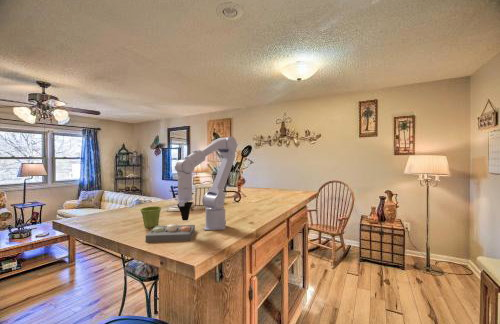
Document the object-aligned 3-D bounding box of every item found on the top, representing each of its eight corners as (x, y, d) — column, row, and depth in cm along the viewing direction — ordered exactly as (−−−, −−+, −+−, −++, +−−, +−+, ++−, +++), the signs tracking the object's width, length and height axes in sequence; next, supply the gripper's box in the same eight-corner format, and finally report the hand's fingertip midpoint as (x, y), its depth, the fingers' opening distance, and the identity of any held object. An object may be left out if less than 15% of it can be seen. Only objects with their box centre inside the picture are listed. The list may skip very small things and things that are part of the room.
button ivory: (177, 230, 97) (177, 223, 97) (175, 233, 93) (175, 226, 93) (168, 231, 97) (168, 224, 96) (165, 234, 93) (165, 226, 92)
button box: (194, 230, 101) (194, 224, 101) (190, 240, 89) (189, 233, 89) (155, 232, 100) (155, 225, 100) (145, 242, 88) (145, 234, 88)
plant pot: (154, 230, 103) (153, 211, 103) (135, 228, 105) (135, 210, 105) (165, 224, 112) (165, 206, 112) (148, 223, 114) (148, 206, 114)
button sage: (164, 233, 96) (164, 226, 96) (161, 236, 92) (161, 229, 92) (155, 233, 96) (155, 226, 96) (151, 237, 92) (151, 229, 92)
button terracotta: (191, 232, 97) (190, 225, 97) (189, 235, 93) (189, 228, 93) (181, 233, 97) (181, 226, 97) (179, 236, 93) (179, 228, 93)
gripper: (179, 185, 102) (179, 215, 102) (170, 190, 87) (171, 225, 88) (195, 185, 102) (195, 215, 103) (189, 190, 88) (189, 224, 88)
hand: (185, 220), depth 95 cm, fingers closed
